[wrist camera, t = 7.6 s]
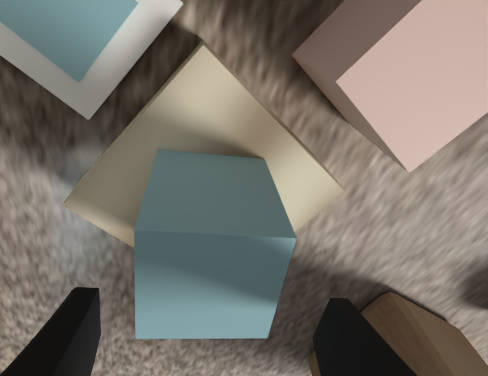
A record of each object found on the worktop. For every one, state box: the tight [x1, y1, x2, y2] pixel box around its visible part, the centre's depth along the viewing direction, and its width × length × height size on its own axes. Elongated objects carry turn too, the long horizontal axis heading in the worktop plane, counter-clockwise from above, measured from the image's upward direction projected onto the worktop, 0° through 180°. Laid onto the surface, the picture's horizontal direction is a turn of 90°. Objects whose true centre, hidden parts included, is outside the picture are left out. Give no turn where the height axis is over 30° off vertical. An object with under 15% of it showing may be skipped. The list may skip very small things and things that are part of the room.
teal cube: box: [134, 149, 297, 339], centre depth 14 cm, size 5×5×6 cm
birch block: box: [63, 40, 345, 248], centre depth 18 cm, size 10×10×3 cm
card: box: [0, 0, 184, 120], centre depth 13 cm, size 7×7×1 cm
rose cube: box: [292, 0, 488, 173], centre depth 13 cm, size 5×5×6 cm
